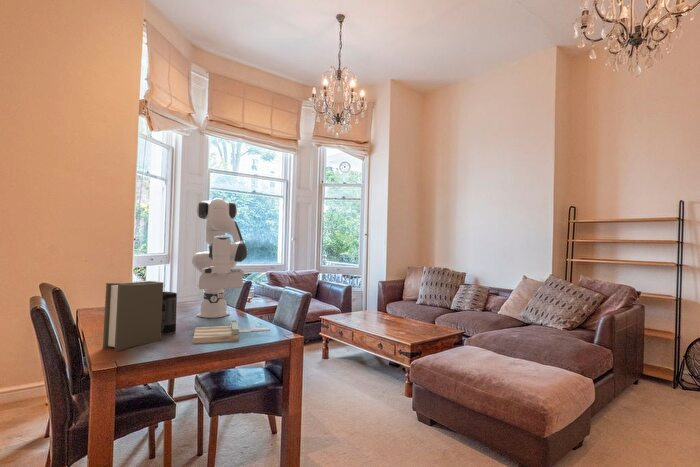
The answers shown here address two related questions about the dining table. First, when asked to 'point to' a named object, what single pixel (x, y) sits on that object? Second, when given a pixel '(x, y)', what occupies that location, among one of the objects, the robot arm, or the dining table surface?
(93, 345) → the dining table surface
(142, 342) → the book
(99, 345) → the dining table surface
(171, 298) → the electronic device
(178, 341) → the dining table surface
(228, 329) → the wooden cutting board
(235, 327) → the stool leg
